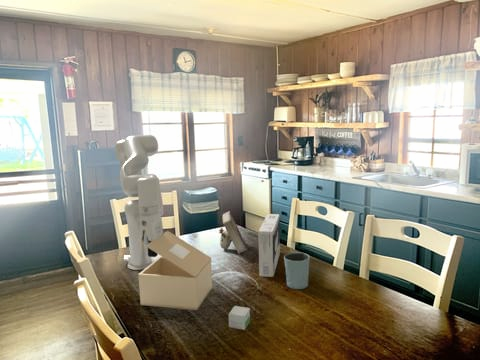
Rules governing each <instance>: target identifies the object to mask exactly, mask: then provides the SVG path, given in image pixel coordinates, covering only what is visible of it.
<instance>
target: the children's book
mask: <svg viewBox="0 0 480 360" xmlns="http://www.w3.org/2000/svg"><path fill="white" fill-rule="evenodd" d="M222 224H223V226H224V229H223V227H220V229H219V230H218V234H220V242H219V244H220V248H221V249H223V250H225V251H227V250H228V249H229V248H230V246H231V244H233V245H234V248H235V250H236V252H237V253H238V254H239V255H240V254H241V253H243V252H245V251H247V250H248V248H247V246H246V245H247V244H246V243H247V242H246V241H245V237H243V236H242V233H241V231H240V229H239V227H238V225H237V223H236V221H235V219H234V217H233V215H232V213H231V211H230V210H229V211H227V212H224V213H223V214H222Z"/></svg>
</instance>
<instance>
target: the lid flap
mask: <svg viewBox="0 0 480 360" xmlns="http://www.w3.org/2000/svg"><path fill="white" fill-rule="evenodd" d="M146 247H148V248H149V249H151V250H153V251H154V252H156V253H157V254H158V255H159V257H164V258H165V259H167V260H168V261H170V262H172V263H173V264H175V265H176V266H178V267H179V268H181V269H183V270H184V271H186V272H187V273H189V274H190V275H192V276H194V277H196V276H197V275H198V274H199V273H200V272H201V270H202V269H203V268H204V267H205V266H206V264H207V263H208V262H209V261H210V260H211V261H212V257H211V256H210V255H207V254H206V253H204V252H203V251H201V250H199V249H198V248H196V247H195V246H193V245H191V244H190V243H188V242H187V241H185V240H183V239H182V238H180V237H179V236H176V235H175V234H174V233H172V232H170V231H169V230H167V231H165V232H163V235H162V236H160V237H159V238H157V239H156V240H154V241H152V242H150V243H149V244H147V245H146Z"/></svg>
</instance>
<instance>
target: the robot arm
mask: <svg viewBox="0 0 480 360" xmlns="http://www.w3.org/2000/svg"><path fill="white" fill-rule="evenodd" d="M158 150H159V143H158V139H157V138H156V137H155V135H152V134H145V135H144V134H142V135H130V136H128V137H126V138H125V139H121V140H118V141H117V142H116V143H115V145H114V151H115V156H116V160H117V161H118V164H119V165H120V167H121V168H120V172H119V181H120V185H121V189H122V192H123V193H124V194H125V195H126V196H127V197H128V198H138V199H131V200H130V201H127V202H126V203H125V205H124V215H125V218H126V219H125V220H126V223H127V231H128V245H129V255H127V254H125V255H124V256H123V261H124V262H128V263H127V268H128V269H130V270H133V271H143V270H144V269H146V268H147V267H148V266H149V265H150V264H152V263H153V262H154V261H155V259H153V258H157V256H158V255H159V254H157V253H156V252H154V251H153V250H151V249H149V248H148V247H146V245H147V244H149V243H150V242H152V241H154V240H156V239H157V238H159V237H160V236H162V235H163V234H164V228H163V220H162V219H163V217H162V216H163V215H164V202H163V196H162V189H161V184H160V179H159V177H158V176H157V175H156V174H154V173H146V174H143V172H142V170H143V169H144V168H146V167H147V166H148V164H149V162H150V160H149V157H152V156H155V155H156V154H157V152H158Z"/></svg>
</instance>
